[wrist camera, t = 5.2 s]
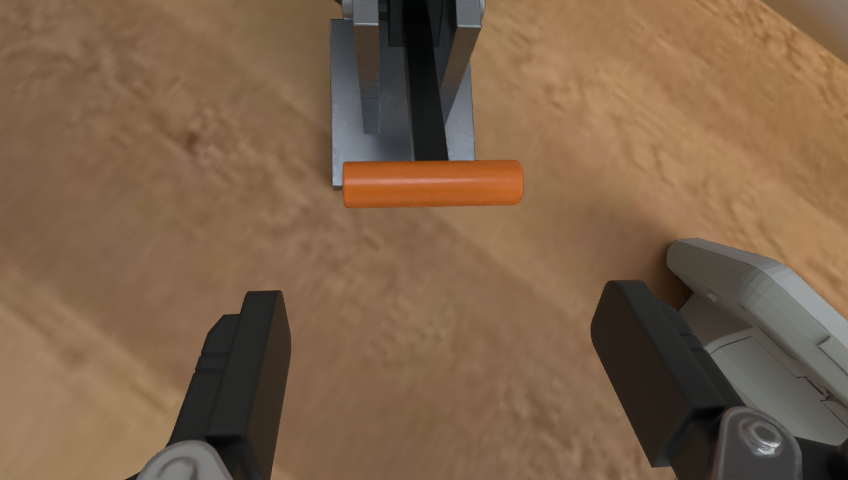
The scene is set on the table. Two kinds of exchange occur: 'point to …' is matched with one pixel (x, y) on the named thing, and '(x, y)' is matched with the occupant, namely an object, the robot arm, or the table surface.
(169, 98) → the table surface
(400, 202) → the switch lever
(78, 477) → the table surface
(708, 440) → the robot arm
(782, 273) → the digital clock
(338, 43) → the switch bracket
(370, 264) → the table surface
